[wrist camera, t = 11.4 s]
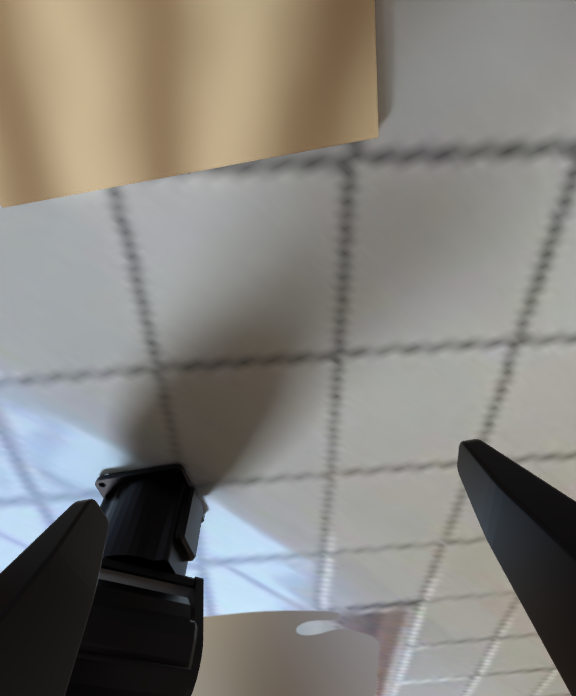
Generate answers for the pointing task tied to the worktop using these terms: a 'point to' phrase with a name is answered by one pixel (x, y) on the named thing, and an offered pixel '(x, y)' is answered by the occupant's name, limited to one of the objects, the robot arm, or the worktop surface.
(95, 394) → the worktop surface
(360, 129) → the striped wooden cutting board
